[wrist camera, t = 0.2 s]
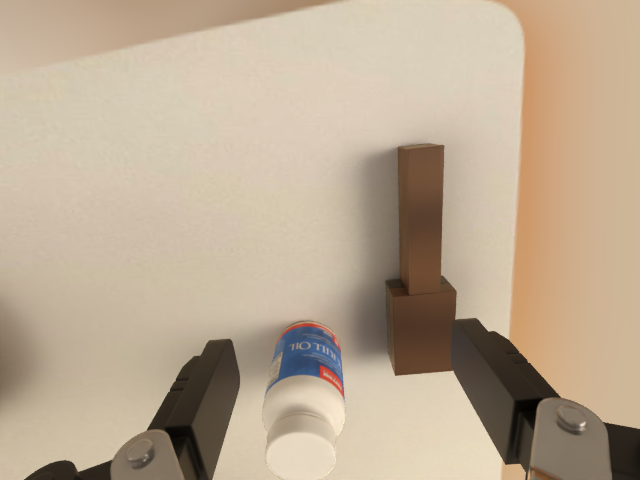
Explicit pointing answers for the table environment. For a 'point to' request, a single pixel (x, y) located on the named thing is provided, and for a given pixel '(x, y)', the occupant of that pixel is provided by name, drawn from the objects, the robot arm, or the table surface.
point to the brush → (420, 269)
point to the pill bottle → (304, 403)
